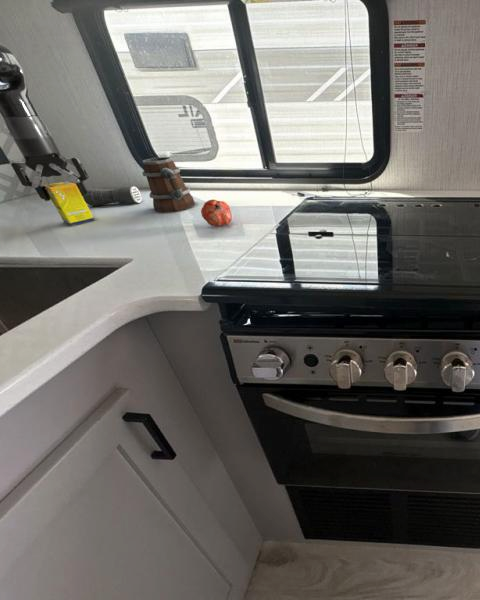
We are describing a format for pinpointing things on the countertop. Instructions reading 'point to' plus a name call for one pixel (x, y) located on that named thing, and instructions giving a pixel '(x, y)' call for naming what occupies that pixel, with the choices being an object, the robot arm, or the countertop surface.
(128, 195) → the flashlight
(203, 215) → the pomegranate
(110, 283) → the countertop surface
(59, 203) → the supplement box
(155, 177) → the mug
